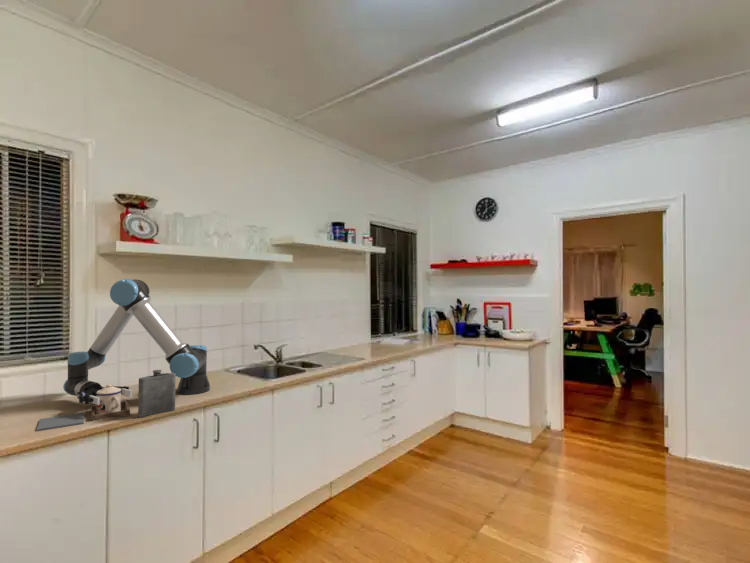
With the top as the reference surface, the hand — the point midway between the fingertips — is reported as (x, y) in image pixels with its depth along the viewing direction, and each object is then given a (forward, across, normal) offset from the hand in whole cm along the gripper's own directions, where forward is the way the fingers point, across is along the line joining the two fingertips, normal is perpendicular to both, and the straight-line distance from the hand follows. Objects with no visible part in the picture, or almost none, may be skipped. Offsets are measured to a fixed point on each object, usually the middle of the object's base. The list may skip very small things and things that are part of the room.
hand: (115, 397), depth 167 cm
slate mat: (-8, +16, -7) cm, 19 cm away
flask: (+13, -10, -7) cm, 18 cm away
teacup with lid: (-4, 0, -7) cm, 8 cm away
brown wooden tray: (-4, 0, -7) cm, 8 cm away
